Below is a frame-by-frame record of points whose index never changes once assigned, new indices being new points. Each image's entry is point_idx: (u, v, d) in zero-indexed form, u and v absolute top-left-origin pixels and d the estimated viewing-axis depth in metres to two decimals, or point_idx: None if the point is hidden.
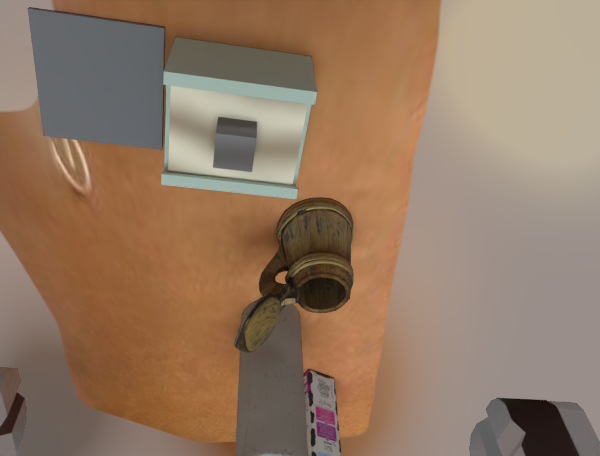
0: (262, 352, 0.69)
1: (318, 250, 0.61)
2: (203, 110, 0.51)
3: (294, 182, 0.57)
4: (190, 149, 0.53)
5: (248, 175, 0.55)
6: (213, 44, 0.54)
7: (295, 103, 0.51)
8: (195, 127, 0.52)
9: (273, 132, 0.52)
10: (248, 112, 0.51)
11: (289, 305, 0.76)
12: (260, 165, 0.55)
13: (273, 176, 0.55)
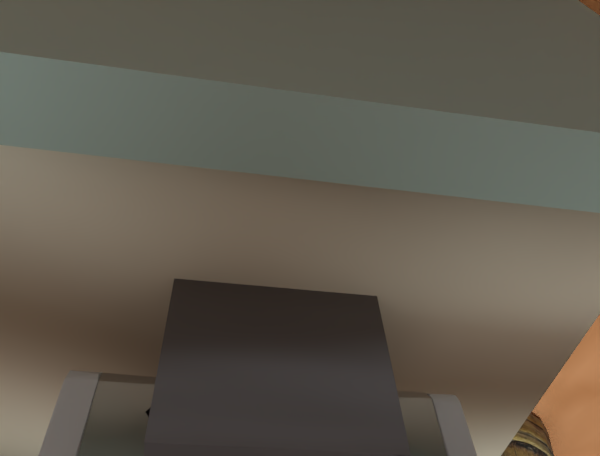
0: None
1: None
2: (90, 251, 0.09)
3: None
4: (53, 402, 0.11)
5: None
6: None
7: None
8: (59, 324, 0.10)
9: (448, 335, 0.11)
10: (336, 258, 0.09)
11: None
12: None
13: None
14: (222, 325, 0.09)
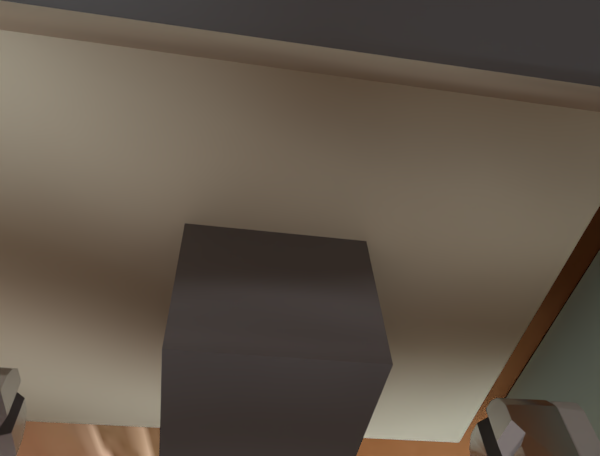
0: None
1: None
2: (110, 197, 0.10)
3: None
4: (74, 345, 0.13)
5: None
6: None
7: (566, 161, 0.10)
8: (81, 268, 0.11)
9: (431, 279, 0.12)
10: (329, 204, 0.11)
11: None
12: None
13: (401, 414, 0.15)
14: (228, 261, 0.10)
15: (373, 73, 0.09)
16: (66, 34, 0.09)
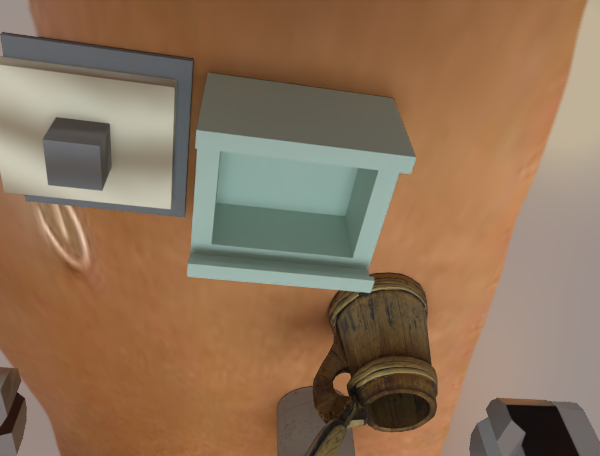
0: None
1: (393, 352, 0.45)
2: (34, 108, 0.38)
3: (366, 267, 0.42)
4: (27, 160, 0.40)
5: (111, 193, 0.42)
6: (260, 82, 0.39)
7: (157, 99, 0.38)
8: (28, 131, 0.39)
9: (134, 137, 0.40)
10: (95, 111, 0.38)
11: None
12: (124, 180, 0.42)
13: (144, 194, 0.43)
14: (65, 125, 0.38)
15: (99, 75, 0.37)
16: (20, 66, 0.36)
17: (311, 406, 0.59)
